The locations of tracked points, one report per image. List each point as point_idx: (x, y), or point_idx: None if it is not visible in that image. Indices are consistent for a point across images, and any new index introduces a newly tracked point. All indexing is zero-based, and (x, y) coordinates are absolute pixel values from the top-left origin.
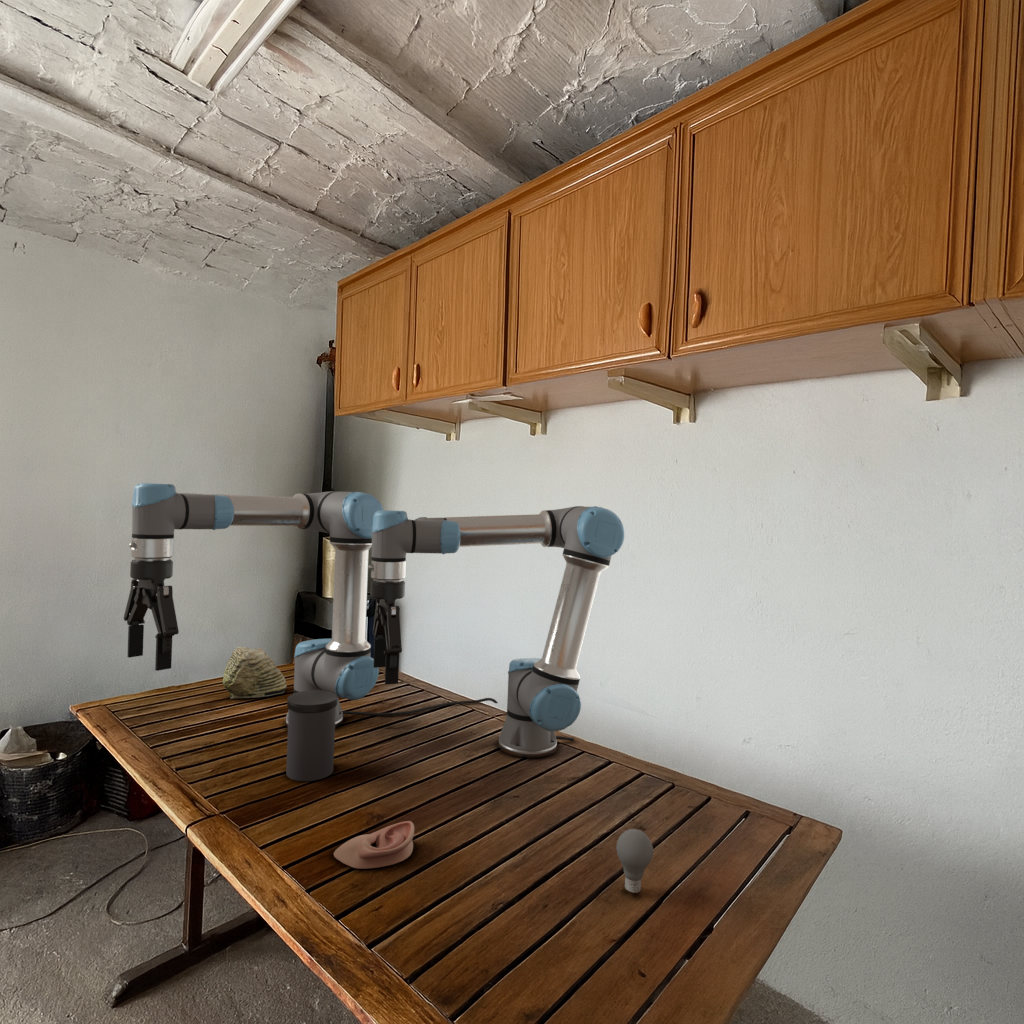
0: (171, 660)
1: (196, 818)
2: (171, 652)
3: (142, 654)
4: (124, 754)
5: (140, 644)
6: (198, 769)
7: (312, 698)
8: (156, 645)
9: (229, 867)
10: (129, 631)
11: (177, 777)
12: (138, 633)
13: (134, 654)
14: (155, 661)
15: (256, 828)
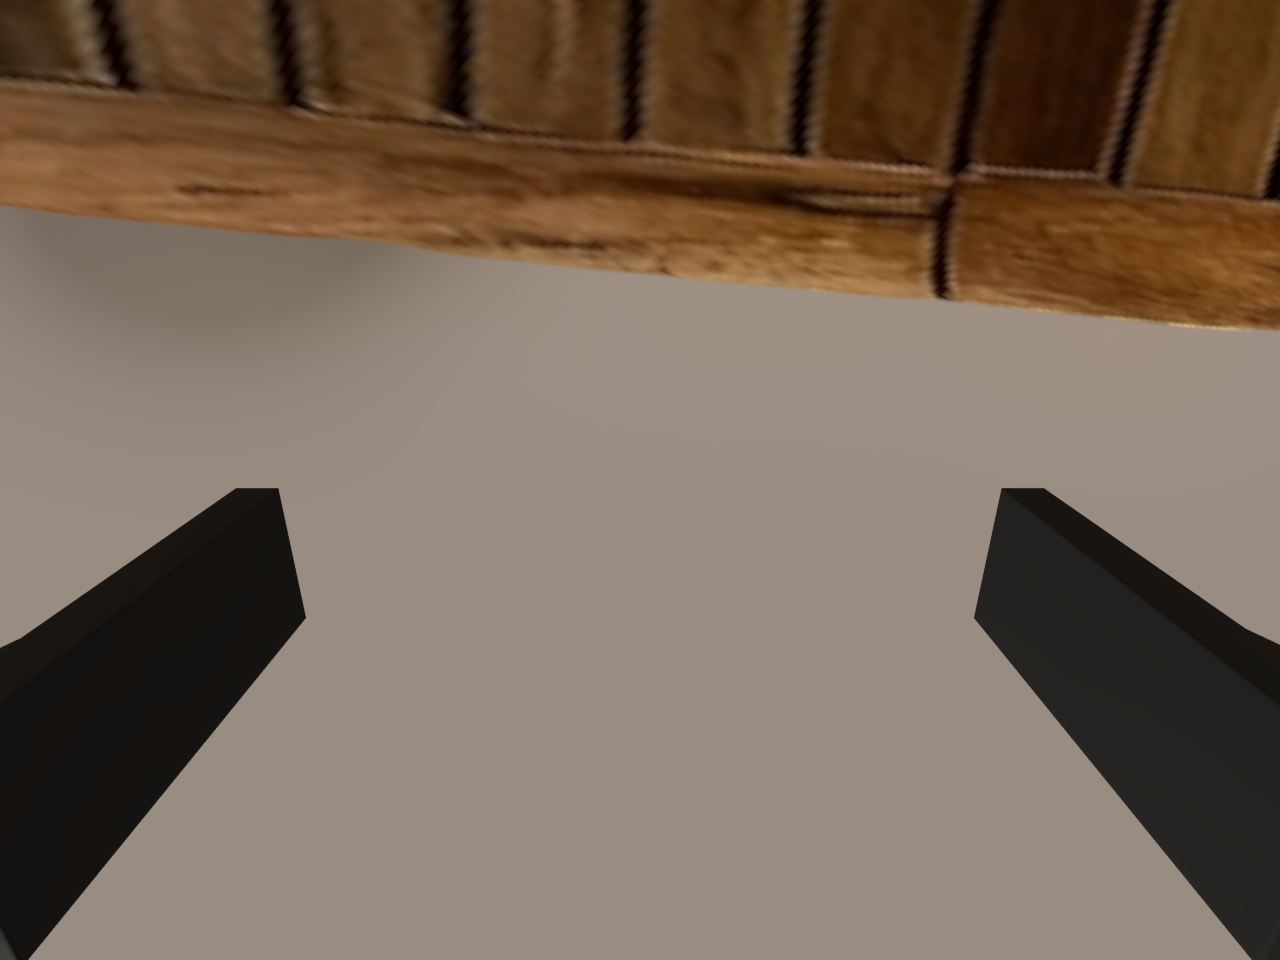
0: (1098, 526)
1: (919, 255)
2: (1173, 583)
3: (269, 495)
4: (154, 212)
5: (200, 583)
6: (518, 36)
7: None
8: (1163, 833)
9: (1260, 324)
10: (82, 876)
11: (540, 148)
12: (95, 726)
13: (284, 583)
14: (1022, 675)
15: (1161, 136)
